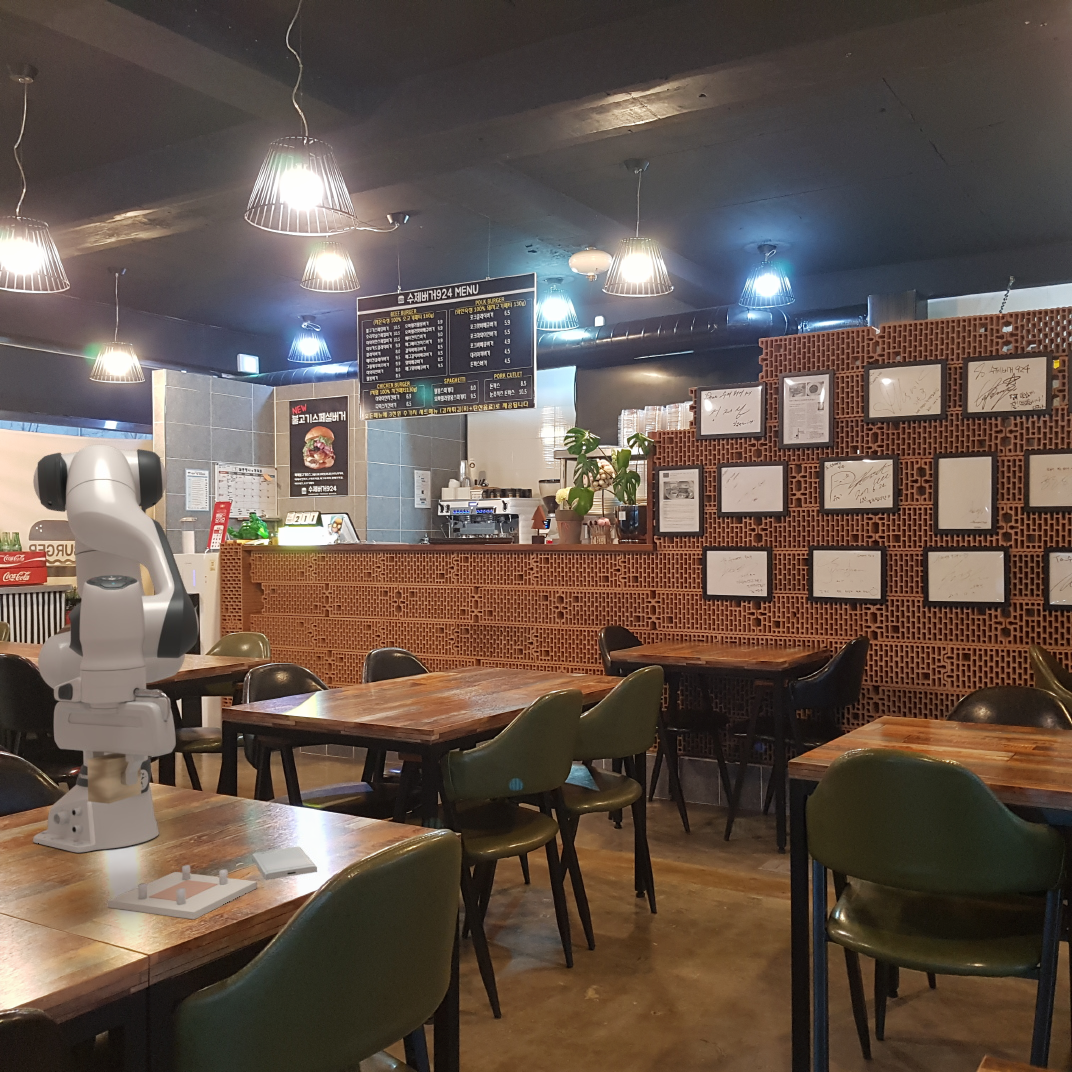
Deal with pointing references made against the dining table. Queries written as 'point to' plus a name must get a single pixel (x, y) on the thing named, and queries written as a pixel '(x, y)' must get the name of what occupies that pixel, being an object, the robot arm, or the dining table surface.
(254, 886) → the pin base
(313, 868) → the hard drive
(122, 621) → the robot arm
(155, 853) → the dining table surface
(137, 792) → the maple block
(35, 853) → the dining table surface
